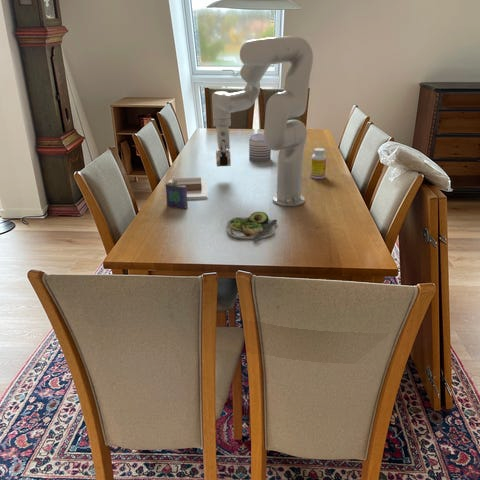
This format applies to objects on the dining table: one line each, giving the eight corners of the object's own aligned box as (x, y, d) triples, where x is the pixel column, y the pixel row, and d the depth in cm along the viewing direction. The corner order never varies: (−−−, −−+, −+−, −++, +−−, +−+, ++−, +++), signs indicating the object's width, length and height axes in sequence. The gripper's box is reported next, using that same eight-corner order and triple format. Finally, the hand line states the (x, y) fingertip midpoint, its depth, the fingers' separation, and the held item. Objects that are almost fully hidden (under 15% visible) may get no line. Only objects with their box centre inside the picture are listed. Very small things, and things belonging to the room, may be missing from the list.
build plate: (207, 198, 187) (207, 196, 187) (167, 200, 186) (167, 197, 185) (205, 181, 207) (205, 178, 206) (169, 182, 205) (168, 180, 205)
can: (271, 156, 242) (272, 133, 236) (270, 163, 231) (271, 139, 226) (249, 156, 243) (249, 133, 237) (247, 162, 233) (247, 138, 227)
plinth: (201, 190, 193) (201, 183, 191) (172, 191, 192) (172, 184, 190) (201, 184, 200) (200, 177, 198) (173, 185, 199) (172, 178, 197)
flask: (189, 207, 179) (187, 181, 174) (184, 210, 177) (183, 183, 172) (169, 203, 183) (167, 177, 178) (165, 206, 180) (162, 179, 176)
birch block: (230, 165, 204) (230, 152, 202) (217, 166, 204) (216, 153, 201) (229, 163, 208) (229, 149, 206) (216, 163, 208) (215, 150, 205)
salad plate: (280, 245, 150) (280, 232, 148) (225, 245, 150) (224, 232, 148) (276, 221, 168) (277, 209, 166) (227, 221, 168) (227, 209, 166)
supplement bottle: (324, 179, 208) (326, 151, 202) (309, 178, 209) (311, 150, 203) (325, 175, 214) (327, 147, 208) (310, 174, 215) (312, 147, 209)
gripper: (232, 125, 191) (233, 168, 198) (229, 118, 206) (230, 158, 214) (214, 126, 190) (216, 169, 198) (212, 118, 205) (214, 159, 213)
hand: (223, 163), depth 206 cm, fingers closed on birch block, 4 cm apart
